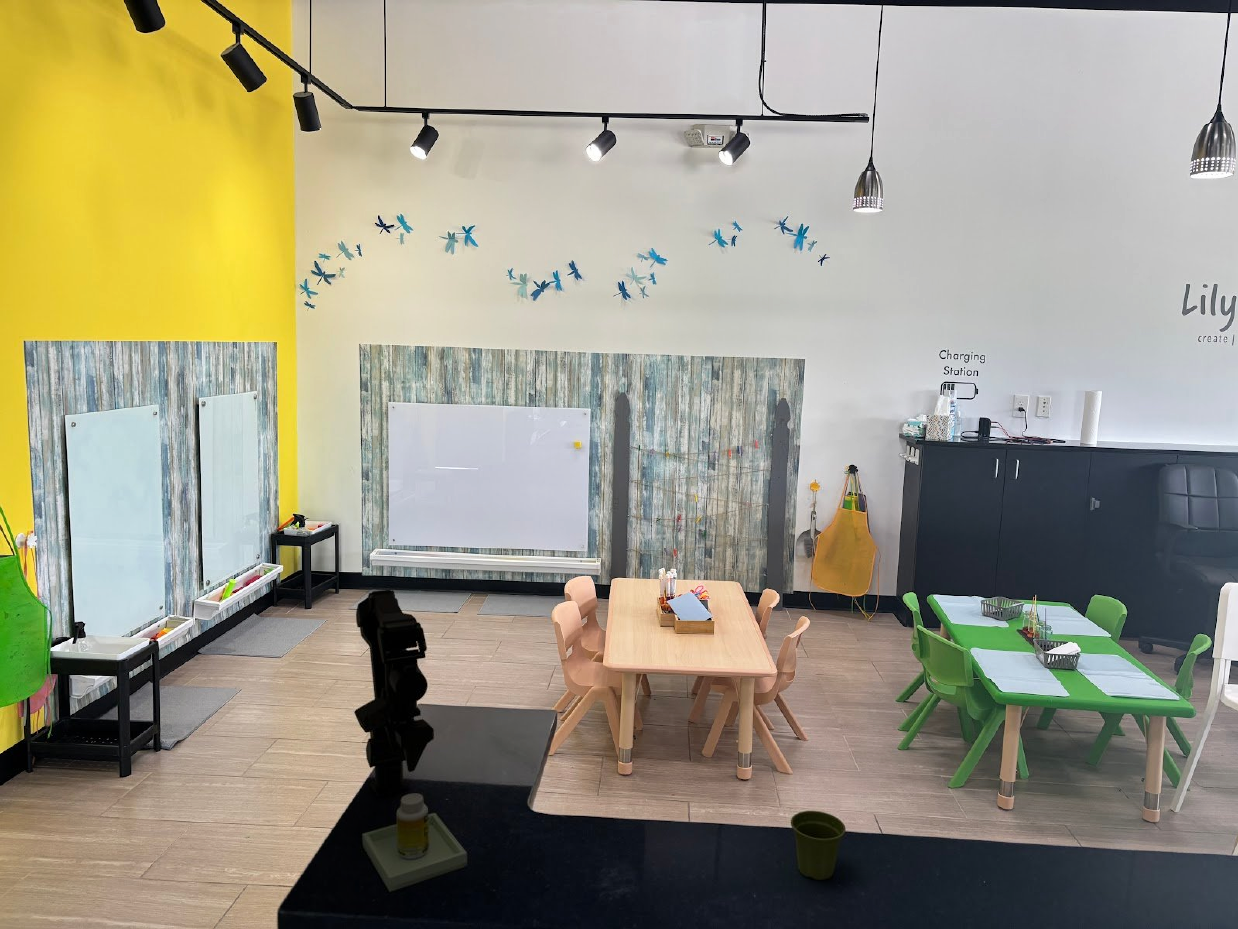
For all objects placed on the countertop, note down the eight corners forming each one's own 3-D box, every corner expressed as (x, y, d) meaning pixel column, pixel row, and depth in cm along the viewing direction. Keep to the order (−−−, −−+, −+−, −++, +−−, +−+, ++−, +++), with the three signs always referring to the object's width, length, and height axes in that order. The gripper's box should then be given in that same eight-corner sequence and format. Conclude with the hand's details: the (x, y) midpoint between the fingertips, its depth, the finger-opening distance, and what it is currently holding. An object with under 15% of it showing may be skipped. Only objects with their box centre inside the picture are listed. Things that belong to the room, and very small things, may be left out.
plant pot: (824, 851, 158) (826, 807, 157) (854, 880, 149) (856, 834, 148) (779, 860, 155) (781, 815, 154) (806, 891, 146) (808, 843, 145)
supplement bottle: (429, 858, 154) (428, 804, 152) (397, 862, 152) (395, 808, 151) (428, 841, 159) (427, 789, 158) (397, 845, 158) (396, 792, 156)
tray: (362, 846, 158) (362, 834, 158) (435, 825, 166) (434, 812, 166) (389, 892, 145) (389, 878, 145) (467, 866, 153) (466, 853, 152)
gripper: (344, 676, 166) (347, 753, 168) (373, 709, 150) (376, 793, 152) (400, 665, 172) (403, 739, 174) (434, 696, 156) (436, 777, 158)
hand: (403, 761), depth 164 cm, fingers open, 9 cm apart
